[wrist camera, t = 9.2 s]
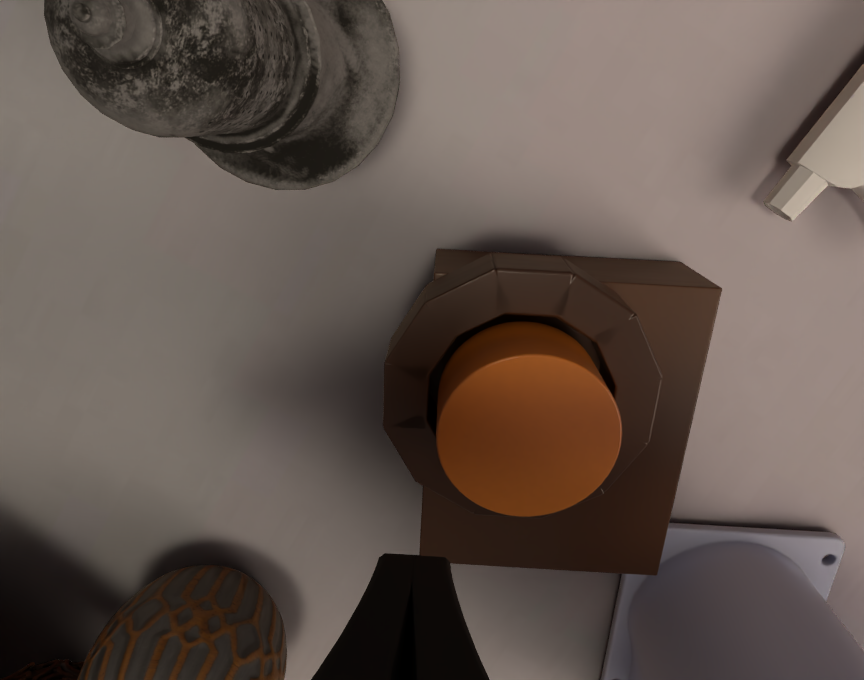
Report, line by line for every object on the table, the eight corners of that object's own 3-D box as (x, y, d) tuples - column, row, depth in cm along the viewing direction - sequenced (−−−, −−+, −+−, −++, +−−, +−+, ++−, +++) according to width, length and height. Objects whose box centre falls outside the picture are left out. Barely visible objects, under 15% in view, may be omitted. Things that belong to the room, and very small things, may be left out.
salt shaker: (279, -88, 16) (-87, -518, 5) (449, 53, 18) (447, -53, 6) (178, 97, 18) (-259, 69, 7) (338, 215, 19) (183, 354, 8)
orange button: (587, 470, 17) (607, 523, 15) (434, 461, 17) (431, 512, 15) (611, 325, 16) (637, 359, 13) (442, 315, 16) (440, 348, 13)
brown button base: (630, 516, 23) (676, 618, 18) (393, 502, 23) (378, 600, 19) (685, 241, 19) (760, 282, 15) (402, 226, 19) (386, 262, 15)
